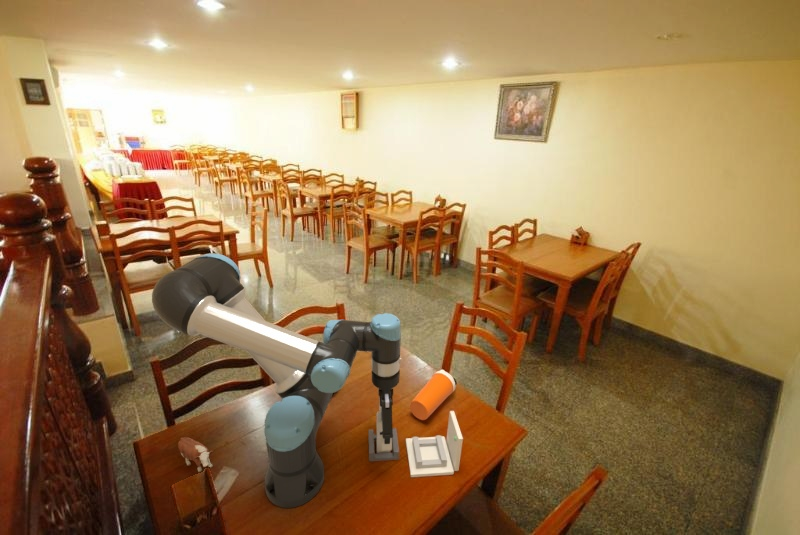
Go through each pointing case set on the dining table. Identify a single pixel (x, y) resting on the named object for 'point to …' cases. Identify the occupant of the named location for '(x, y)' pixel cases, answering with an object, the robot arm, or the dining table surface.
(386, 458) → the grey square frame
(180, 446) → the bull figurine
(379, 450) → the plug
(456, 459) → the port
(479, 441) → the dining table surface
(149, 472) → the dining table surface
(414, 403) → the shaker bottle
